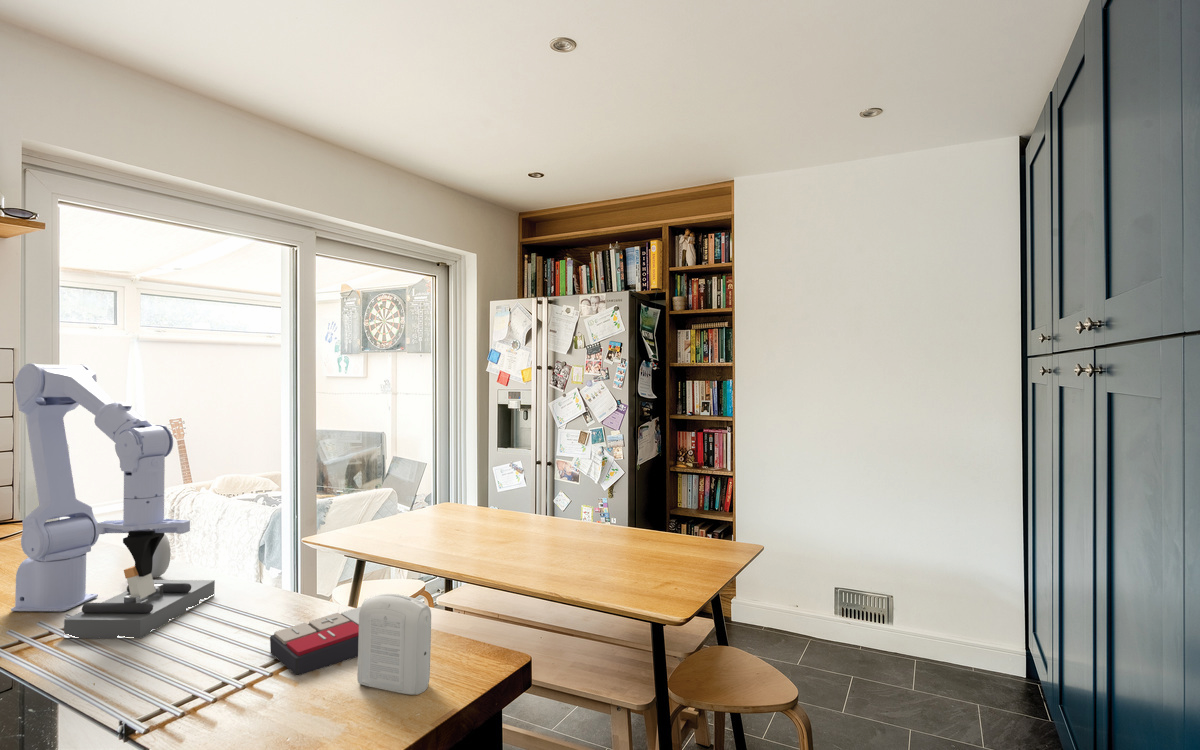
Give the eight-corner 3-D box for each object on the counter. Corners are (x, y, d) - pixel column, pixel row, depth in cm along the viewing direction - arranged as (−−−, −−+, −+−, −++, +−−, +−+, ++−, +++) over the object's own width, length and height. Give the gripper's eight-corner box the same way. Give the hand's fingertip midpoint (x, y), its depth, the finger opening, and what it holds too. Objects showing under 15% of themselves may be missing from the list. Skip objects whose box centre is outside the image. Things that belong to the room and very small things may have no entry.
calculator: (268, 630, 96) (363, 602, 107) (269, 658, 96) (364, 626, 107) (295, 653, 88) (394, 619, 99) (296, 683, 89) (395, 646, 99)
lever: (132, 604, 106) (123, 570, 106) (148, 596, 110) (140, 563, 110) (141, 602, 106) (132, 567, 106) (157, 594, 110) (149, 560, 110)
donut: (173, 579, 129) (174, 531, 130) (154, 584, 127) (155, 534, 127) (153, 571, 135) (154, 524, 135) (134, 574, 132) (135, 527, 132)
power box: (63, 638, 100) (64, 607, 100) (150, 595, 120) (151, 569, 120) (140, 638, 100) (140, 607, 100) (214, 595, 120) (214, 569, 120)
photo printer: (435, 684, 87) (436, 594, 87) (417, 699, 83) (418, 605, 83) (372, 672, 90) (373, 586, 90) (352, 686, 86) (353, 596, 86)
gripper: (83, 500, 104) (82, 582, 104) (171, 500, 105) (170, 581, 104) (114, 493, 111) (114, 569, 111) (197, 492, 112) (197, 569, 111)
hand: (143, 575), depth 108 cm, fingers closed, pressing on lever
